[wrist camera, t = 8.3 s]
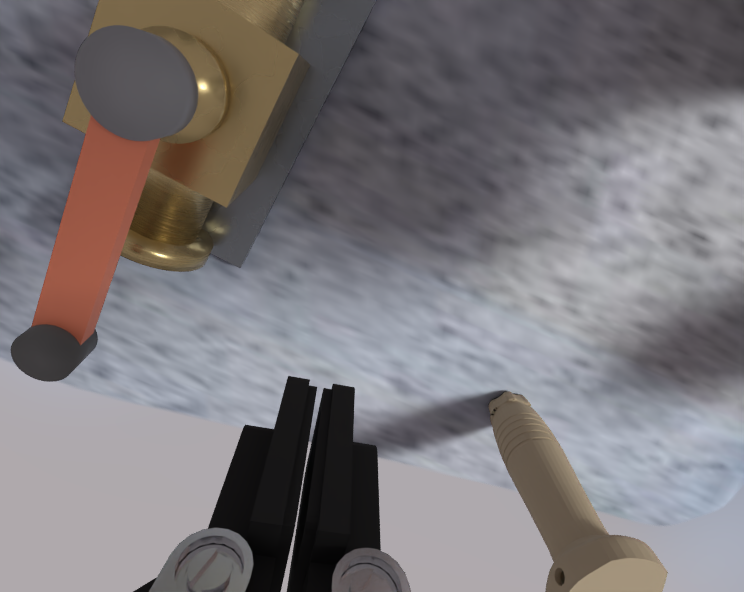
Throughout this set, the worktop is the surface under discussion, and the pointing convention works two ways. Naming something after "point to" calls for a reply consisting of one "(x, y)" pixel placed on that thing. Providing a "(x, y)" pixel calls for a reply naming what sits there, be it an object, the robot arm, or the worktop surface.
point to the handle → (567, 510)
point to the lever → (104, 186)
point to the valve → (230, 116)
